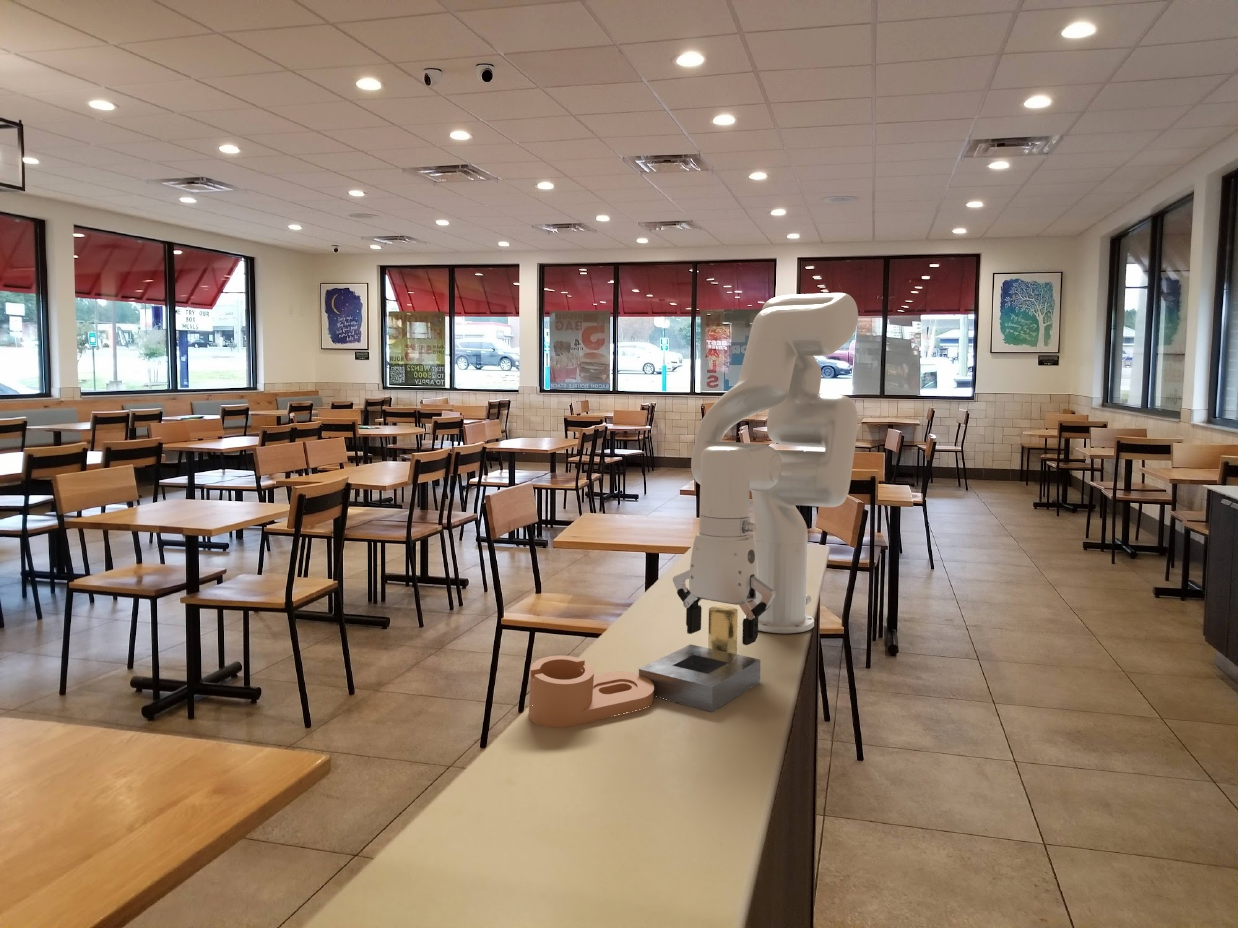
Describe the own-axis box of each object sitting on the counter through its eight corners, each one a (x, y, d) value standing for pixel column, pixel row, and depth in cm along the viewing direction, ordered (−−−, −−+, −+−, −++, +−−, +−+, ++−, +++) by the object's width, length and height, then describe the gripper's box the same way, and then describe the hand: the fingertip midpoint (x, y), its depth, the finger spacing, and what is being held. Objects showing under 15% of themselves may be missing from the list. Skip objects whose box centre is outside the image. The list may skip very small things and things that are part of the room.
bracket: (545, 738, 111) (547, 688, 109) (518, 708, 118) (521, 661, 116) (664, 711, 120) (668, 664, 118) (633, 684, 127) (636, 640, 125)
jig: (690, 666, 135) (690, 644, 135) (760, 682, 128) (760, 659, 128) (638, 692, 124) (638, 668, 124) (712, 711, 117) (712, 686, 117)
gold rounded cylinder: (716, 659, 139) (717, 604, 138) (741, 665, 136) (742, 608, 135) (702, 667, 135) (703, 610, 134) (727, 673, 132) (728, 615, 131)
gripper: (786, 530, 131) (783, 642, 132) (688, 519, 141) (685, 623, 142) (764, 536, 125) (760, 653, 126) (662, 524, 135) (660, 632, 136)
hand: (721, 637), depth 134 cm, fingers open, 9 cm apart
